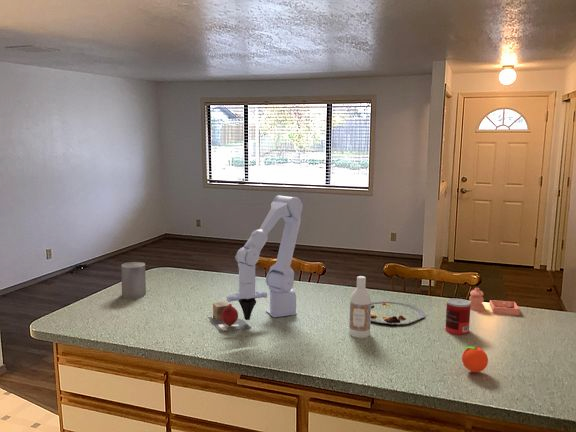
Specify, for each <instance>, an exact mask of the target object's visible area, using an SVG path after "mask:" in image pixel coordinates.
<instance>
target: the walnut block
mask: <svg viewBox="0 0 576 432" xmlns="http://www.w3.org/2000/svg"><path fill="white" fill-rule="evenodd" d="M229 304H230V303H229V302H227V301H220V302H213V303H212V315H213V317H214V318H215V319H216V320H222V318H221V315H222V311H223V310H224V309H225V308H226V307H227V306H228V305H229Z"/></svg>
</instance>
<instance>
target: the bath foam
mask: <svg viewBox="0 0 576 432" xmlns="http://www.w3.org/2000/svg"><path fill="white" fill-rule="evenodd" d="M366 282H367V278H366V276H363V275H359V276H356V288H355V289H354V290H353V292H352V293H351V296H350V299H349V327H348V328H349V331H348V332H349V335H350V336H351V337H353V338H357V339H365V338H369V336H370V335H371V311H372V309H371V306H372V305H371V303H372V298H371V294H370V293H369V291H368V289H367V288H366Z"/></svg>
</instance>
